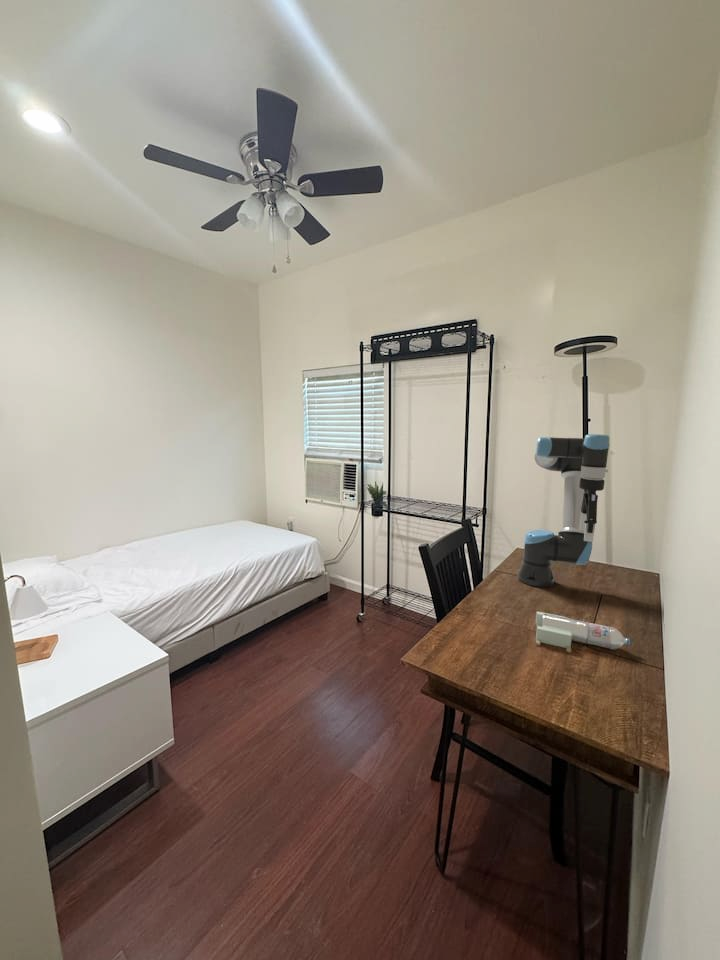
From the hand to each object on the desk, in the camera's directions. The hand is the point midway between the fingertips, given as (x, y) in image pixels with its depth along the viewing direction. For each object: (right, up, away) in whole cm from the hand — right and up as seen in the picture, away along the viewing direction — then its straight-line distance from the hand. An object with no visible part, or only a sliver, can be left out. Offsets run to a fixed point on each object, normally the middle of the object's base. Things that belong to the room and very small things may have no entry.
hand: (585, 535), depth 139 cm
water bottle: (-20, -29, -8) cm, 36 cm away
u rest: (-17, -33, -9) cm, 38 cm away
